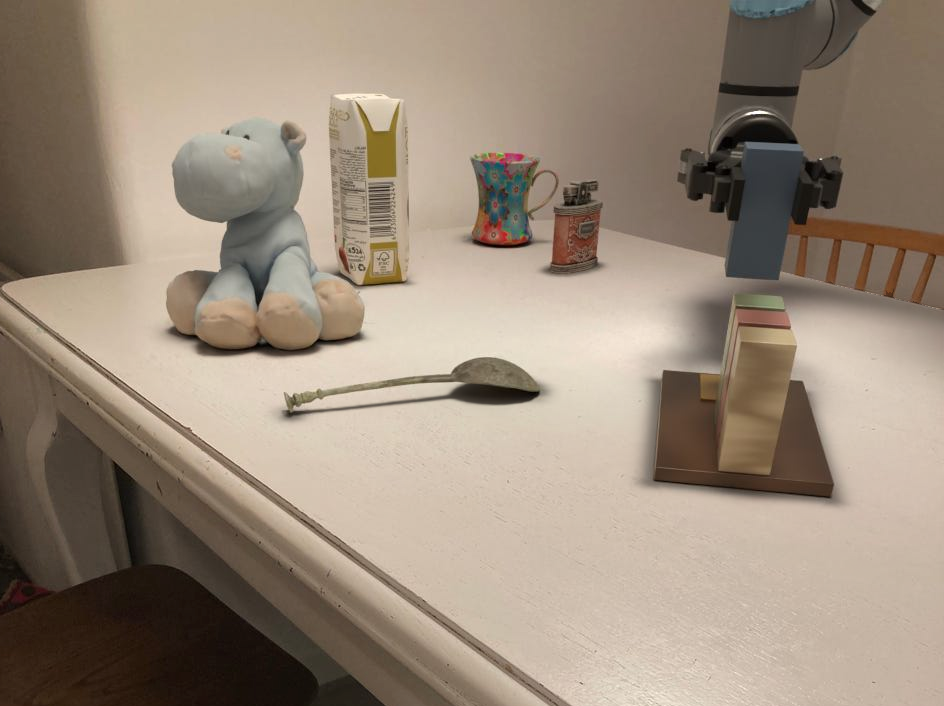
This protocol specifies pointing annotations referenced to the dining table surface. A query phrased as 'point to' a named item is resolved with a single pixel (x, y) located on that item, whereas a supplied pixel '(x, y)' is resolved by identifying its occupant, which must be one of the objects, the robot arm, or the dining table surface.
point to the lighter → (576, 228)
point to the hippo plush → (255, 245)
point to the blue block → (763, 210)
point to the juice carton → (370, 187)
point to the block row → (744, 412)
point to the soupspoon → (439, 380)
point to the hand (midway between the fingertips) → (770, 202)
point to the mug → (505, 196)
